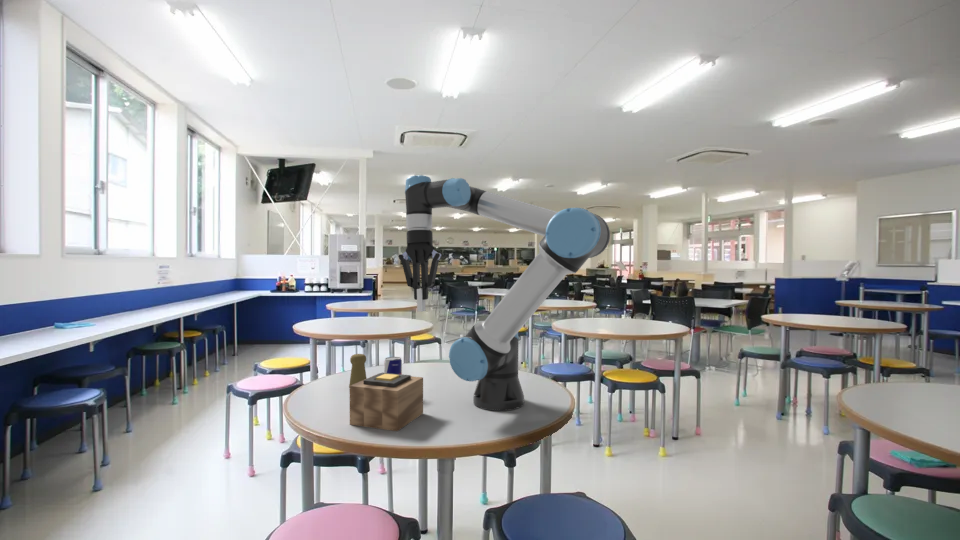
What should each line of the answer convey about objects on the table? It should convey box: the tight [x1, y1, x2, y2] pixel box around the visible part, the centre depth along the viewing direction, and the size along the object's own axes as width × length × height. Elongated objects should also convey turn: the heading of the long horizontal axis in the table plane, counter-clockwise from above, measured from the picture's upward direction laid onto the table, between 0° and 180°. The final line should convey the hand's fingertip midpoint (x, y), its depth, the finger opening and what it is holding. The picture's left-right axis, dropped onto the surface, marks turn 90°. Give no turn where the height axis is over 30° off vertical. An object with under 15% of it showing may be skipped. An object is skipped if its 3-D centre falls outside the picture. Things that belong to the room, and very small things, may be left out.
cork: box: [348, 353, 368, 389], centre depth 149 cm, size 6×6×11 cm
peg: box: [376, 374, 399, 381], centre depth 118 cm, size 4×4×9 cm
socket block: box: [349, 372, 424, 432], centre depth 118 cm, size 14×14×11 cm
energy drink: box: [383, 356, 403, 374], centre depth 138 cm, size 5×5×12 cm
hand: (421, 310), depth 128 cm, fingers closed
